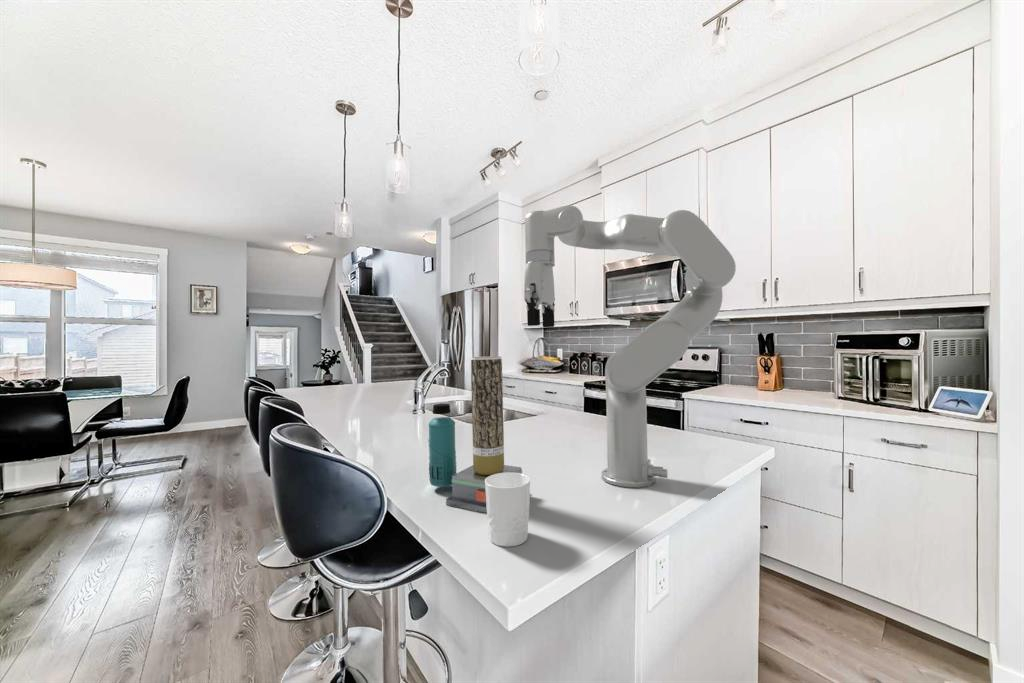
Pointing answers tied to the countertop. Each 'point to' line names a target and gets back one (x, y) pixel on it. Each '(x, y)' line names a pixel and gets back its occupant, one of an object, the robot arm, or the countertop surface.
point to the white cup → (507, 508)
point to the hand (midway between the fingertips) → (541, 326)
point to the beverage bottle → (442, 447)
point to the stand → (472, 488)
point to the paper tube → (487, 415)
